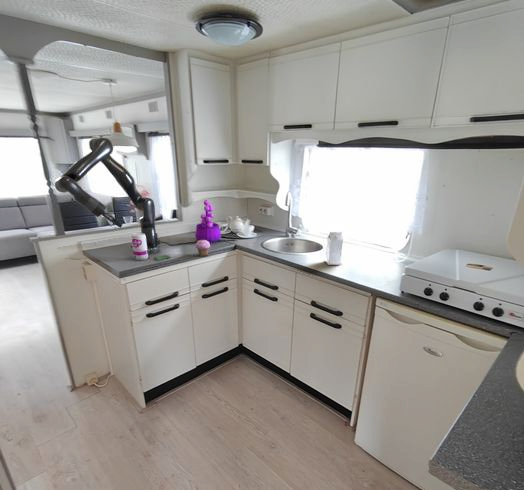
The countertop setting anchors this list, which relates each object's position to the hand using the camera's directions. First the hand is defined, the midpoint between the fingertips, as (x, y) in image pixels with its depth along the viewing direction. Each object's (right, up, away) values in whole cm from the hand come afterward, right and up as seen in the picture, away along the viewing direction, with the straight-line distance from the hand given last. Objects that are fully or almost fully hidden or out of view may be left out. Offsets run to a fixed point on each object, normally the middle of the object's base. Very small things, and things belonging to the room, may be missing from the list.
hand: (121, 226), depth 186 cm
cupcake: (+43, -15, +21) cm, 50 cm away
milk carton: (+124, -21, +10) cm, 126 cm away
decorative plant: (+42, -2, +52) cm, 67 cm away
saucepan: (+4, -12, +27) cm, 30 cm away
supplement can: (+7, -18, +13) cm, 23 cm away
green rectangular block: (+19, -17, +13) cm, 29 cm away
